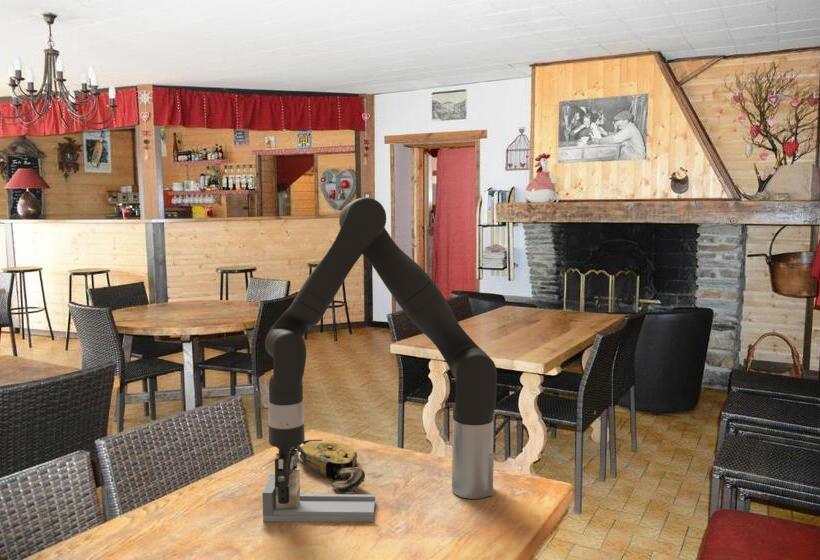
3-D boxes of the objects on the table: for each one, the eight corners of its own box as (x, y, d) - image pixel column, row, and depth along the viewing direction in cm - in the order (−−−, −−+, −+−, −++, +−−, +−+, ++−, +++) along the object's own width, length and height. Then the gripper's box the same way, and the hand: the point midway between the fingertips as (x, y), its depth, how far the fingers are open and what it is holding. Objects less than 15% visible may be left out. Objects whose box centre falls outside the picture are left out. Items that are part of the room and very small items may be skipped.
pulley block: (325, 474, 151) (294, 431, 178) (321, 499, 151) (291, 453, 179) (383, 474, 157) (345, 432, 184) (380, 498, 157) (342, 453, 184)
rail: (375, 502, 151) (375, 476, 150) (372, 521, 142) (372, 493, 142) (271, 501, 151) (271, 475, 151) (263, 521, 142) (262, 492, 142)
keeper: (299, 500, 149) (299, 469, 148) (296, 509, 144) (296, 477, 144) (279, 500, 149) (279, 469, 148) (275, 509, 144) (275, 477, 144)
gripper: (298, 433, 137) (299, 509, 139) (309, 410, 151) (310, 480, 153) (261, 432, 137) (263, 509, 139) (275, 410, 151) (276, 480, 153)
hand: (287, 494), depth 146 cm, fingers open, 8 cm apart
